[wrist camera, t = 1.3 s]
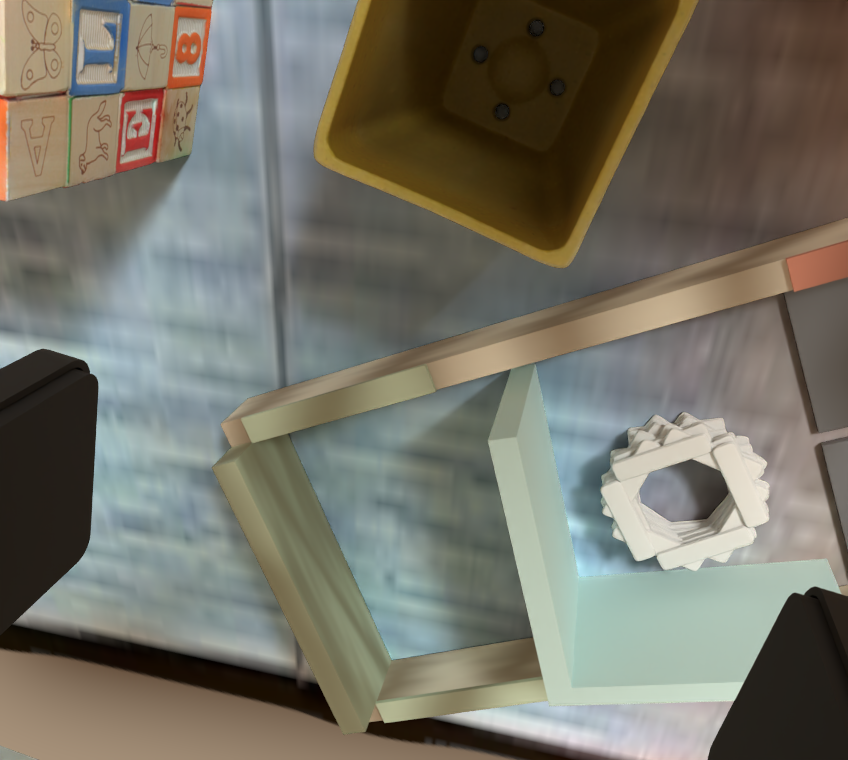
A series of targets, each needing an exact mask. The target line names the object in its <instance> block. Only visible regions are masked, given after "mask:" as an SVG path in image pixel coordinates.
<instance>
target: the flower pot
mask: <svg viewBox="0 0 848 760" xmlns="http://www.w3.org/2000/svg"><path fill="white" fill-rule="evenodd" d="M698 1H699V0H358V3H357V5H356V9H355V13H354V16H353V19H352V22H351V25H350V28H349V31H348V35H347V38H346V41H345V44H344V48H343V51H342V54H341V57H340V60H339V63H338V66H337V69H336V72H335V75H334V78H333V81H332V84H331V88H330V90H329V93H328V96H327V99H326V102H325V105H324V109H323V112H322V115H321V118H320V121H319V124H318V128H317V132H316V136H315V141H314V148H313V149H314V158H315V159H316V161H317V162H318V163H319V164H321V165H322V166H324V167H326V168H328V169H330V170H333V171H335V172H337V173H339V174H342V175H344V176H346V177H349V178H351V179H354V180H356V181H359V182H362V183H364V184H366V185H369V186H372V187H374V188H376V189H379V190H381V191H384V192H386V193H388V194H391V195H393V196H395V197H398V198H400V199H403V200H405V201H408V202H410V203H412V204H415V205H417V206H419V207H422V208H424V209H427V210H429V211H431V212H433V213H435V214H438V215H440V216H442V217H444V218H446V219H449V220H451V221H453V222H455V223H457V224H459V225H461V226H464V227H466V228H468V229H470V230H472V231H475V232H477V233H479V234H481V235H483V236H485V237H487V238H489V239H492V240H494V241H496V242H498V243H500V244H502V245H504V246H506V247H509V248H511V249H513V250H515V251H517V252H519V253H521V254H523V255H525V256H527V257H529V258H531V259H534V260H536V261H538V262H540V263H543V264H546V265H549V266H552V267H555V268H566V267H568V266H569V265H570V264H571V262H572V261H573V260H574V258H575V256H576V254H577V252H578V250H579V248H580V246H581V244H582V241H583V239H584V237H585V235H586V232H587V230H588V228H589V226H590V224H591V222H592V220H593V217H594V215H595V213H596V211H597V209H598V207H599V205H600V203H601V201H602V199H603V197H604V194H605V192H606V190H607V188H608V186H609V184H610V182H611V180H612V178H613V175H614V173H615V171H616V169H617V167H618V165H619V163H620V161H621V159H622V157H623V155H624V153H625V151H626V149H627V147H628V145H629V143H630V141H631V139H632V137H633V135H634V133H635V131H636V128H637V126H638V124H639V122H640V120H641V118H642V116H643V114H644V112H645V110H646V108H647V106H648V104H649V102H650V99H651V97H652V95H653V93H654V91H655V89H656V87H657V85H658V83H659V81H660V79H661V77H662V75H663V73H664V71H665V69H666V67H667V65H668V63H669V61H670V59H671V57H672V55H673V53H674V51H675V49H676V46H677V44H678V42H679V40H680V38H681V37H682V35H683V33H684V31H685V29H686V27H687V25H688V23H689V21H690V19H691V17H692V14H693V12H694V10H695V8H696V6H697V3H698ZM534 20H540V21H541V22H542V23H543V25H544V30H543V33H542V34H541V35H539V36H533V35H531V33H530V31H529V25H530V24H531V22H533V21H534ZM480 46H482V47H485V48H486V50H487V52H488V57H487V59H486V60H485V61H484V62H478V61H476V60H475V59H474V51H475V49H476V48H477V47H480ZM554 80H561V81H562V82H563V83H564V85H565V89H564V91H563V93H562V94H560V95H557V96H556V95H553V94H552V93H551V91H550V84H551V83H552V82H553V81H554ZM499 104H505V105H507V106H508V107H509V115H508V116H507V117H506V118H505V119H499V118H497V116H496V114H495V109H496V107H497V106H498V105H499Z"/></svg>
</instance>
